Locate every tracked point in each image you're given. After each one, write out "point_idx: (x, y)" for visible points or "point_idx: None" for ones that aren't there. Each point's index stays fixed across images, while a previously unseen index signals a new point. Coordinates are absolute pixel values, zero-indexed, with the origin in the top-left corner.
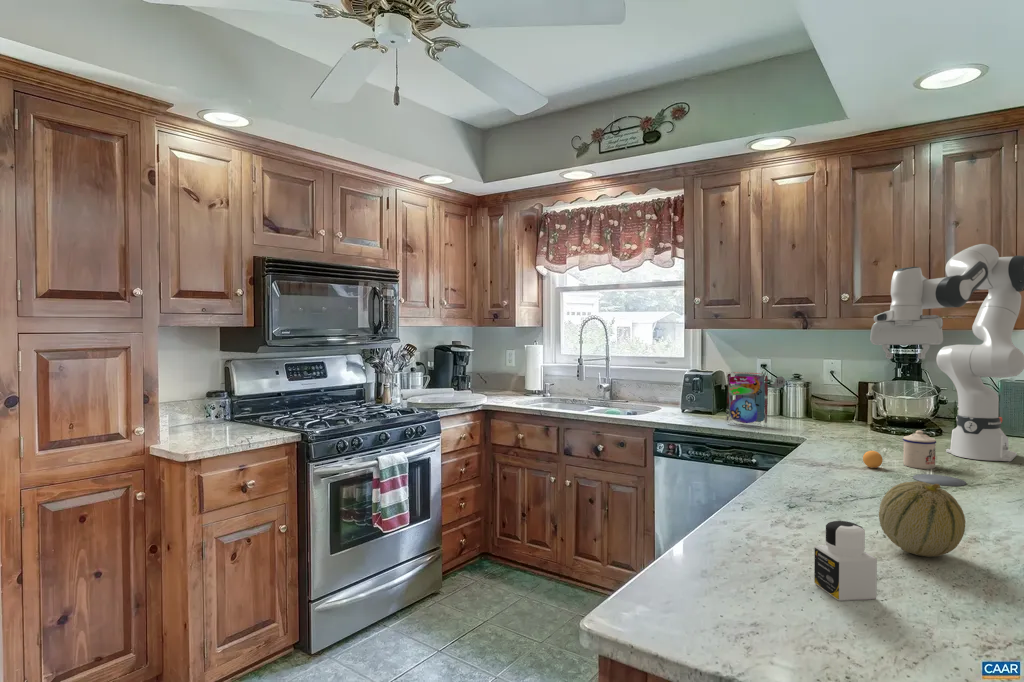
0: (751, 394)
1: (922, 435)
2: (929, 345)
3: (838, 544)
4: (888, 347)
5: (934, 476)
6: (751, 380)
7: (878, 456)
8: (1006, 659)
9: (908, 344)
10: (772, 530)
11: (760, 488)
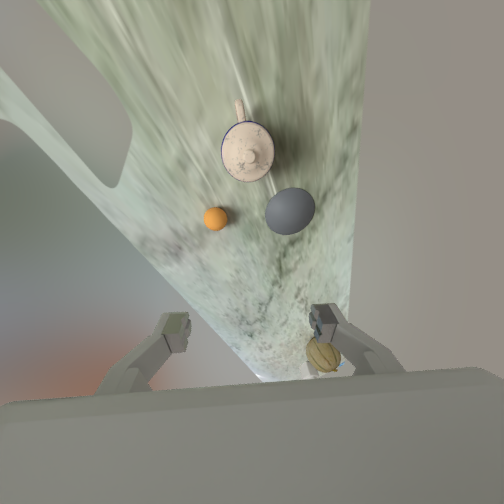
0: None
1: (257, 164)
2: (401, 369)
3: None
4: (143, 380)
5: (282, 202)
6: None
7: (225, 224)
8: (343, 362)
9: (267, 387)
10: (265, 354)
11: (215, 327)
